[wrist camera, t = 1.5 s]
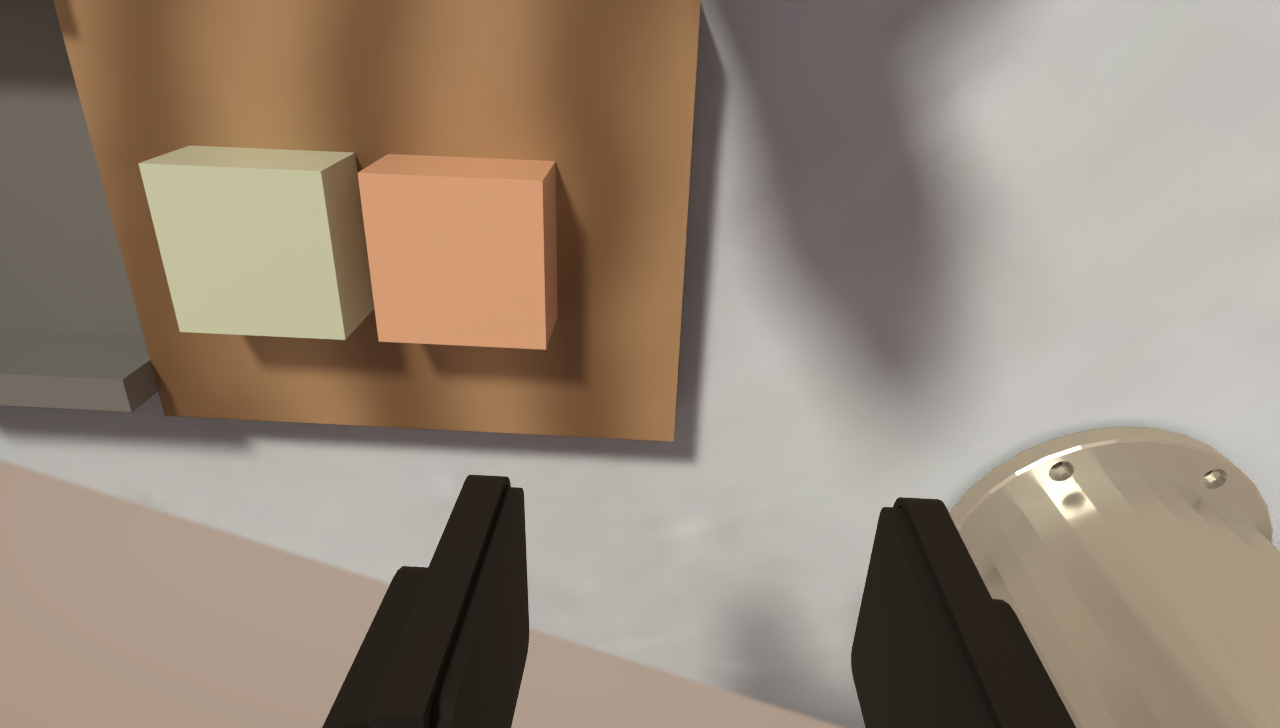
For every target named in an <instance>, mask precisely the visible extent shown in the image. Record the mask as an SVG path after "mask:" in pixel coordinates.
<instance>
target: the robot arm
mask: <svg viewBox="0 0 1280 728" xmlns="http://www.w3.org/2000/svg"><path fill="white" fill-rule="evenodd" d="M1272 535H1273V528H1272V524H1271V520H1270V516H1269V511H1268V507H1267V505H1266V503H1265V501H1264V500H1263V498H1262V496H1261V494H1260V493H1259V491H1258V489H1257V487H1256V486H1255V484H1254V483H1253V482H1252V481H1251V480H1250V479H1249V478H1248V477H1247V476H1246V475H1245V474H1244V473H1243V472H1242V471H1241V470H1239V469H1238V468H1237V467H1236V466H1235V465H1234V464H1233V463H1232V462H1231V461H1229V460H1228V459H1227V458H1225V457H1224V456H1223V455H1221V454H1220V453H1219V452H1217V451H1216V450H1215V449H1214V448H1212V447H1211V446H1208V445H1206V444H1204V443H1202V442H1200V441H1197V440H1195V439H1193V438H1191V437H1188V436H1186V435H1183V434H1179V433H1174V432H1170V431H1165V430H1161V429H1157V428H1145V427H1125V426H1119V427H1110V428H1101V429H1092V430H1085V431H1081V432H1077V433H1074V434H1070V435H1066V436H1062V437H1058V438H1054V439H1052V440H1049V441H1047V442H1044V443H1042V444H1040V445H1037V446H1035V447H1033V448H1030V449H1028V450H1025V451H1023V452H1021V453H1019V454H1018V455H1016V456H1014V457H1013V458H1011V459H1009V460H1008V461H1006V462H1004V463H1003V464H1001V465H1000V466H998V467H996V468H995V469H993V470H992V471H991V472H989V473H988V474H987V475H986V476H985V477H983V478H982V479H981V480H980V481H979V482H978V483H976V484H975V485H974V486H973V487H972V488H970V489H969V490H968V492H967V493H966V494H965V495H964V496H963V497H962V499H961V500H960V501H959V502H958V503H957V504H956V506H955V507H954V508H953V509H952V510H951V512H950V513H949V512H948V510H947V508H946V506H945V505H944V503H943V502H942V501H941V500H938V499H920V498H901V497H900V498H898V499H897V500H896V502H895V503H894V506H893V508H891V507H884V508H882V510H881V512H880V516H879V520H878V525H877V530H876V535H875V540H874V544H873V549H872V554H871V559H870V564H869V569H868V573H867V578H866V583H865V588H864V593H863V598H862V602H861V607H860V612H859V617H858V622H857V627H856V631H855V636H854V641H853V646H852V654H851V665H852V674H853V679H854V683H855V687H856V691H857V695H858V699H859V703H860V707H861V711H862V715H863V719H864V723H865V727H866V728H1280V551H1279V550H1278V549H1277V548H1276V547H1275V546H1274V545H1273V544H1272ZM528 643H529V612H528V587H527V561H526V535H525V510H524V492H523V489H522V488H514V487H511V485H510V480H509V478H508V477H501V476H482V475H469V476H467V478H466V480H465V482H464V485H463V487H462V489H461V492H460V494H459V496H458V499H457V501H456V504H455V506H454V508H453V511H452V513H451V515H450V518H449V520H448V522H447V525H446V527H445V530H444V532H443V534H442V537H441V539H440V541H439V544H438V546H437V548H436V551H435V553H434V556H433V558H432V560H431V563H430V565H429V567H428V568H425V567H407V566H403V567H401V568H400V569H399V570H398V571H397V573H396V574H395V576H394V578H393V579H392V582H391V584H390V586H389V588H388V590H387V592H386V594H385V596H384V598H383V601H382V603H381V605H380V607H379V609H378V611H377V614H376V615H375V618H374V620H373V622H372V624H371V626H370V628H369V631H368V632H367V634H366V637H365V639H364V641H363V643H362V645H361V647H360V649H359V651H358V653H357V656H356V658H355V660H354V662H353V664H352V666H351V668H350V670H349V672H348V675H347V677H346V679H345V681H344V683H343V685H342V687H341V689H340V691H339V693H338V696H337V698H336V700H335V702H334V704H333V706H332V708H331V710H330V713H329V715H328V717H327V719H326V721H325V723H324V725H323V727H322V728H511V725H512V720H513V716H514V711H515V707H516V702H517V698H518V693H519V689H520V684H521V680H522V675H523V671H524V667H525V662H526V656H527V652H528Z"/></svg>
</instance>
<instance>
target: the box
mask: <svg viewBox="0 0 1280 728" xmlns="http://www.w3.org/2000/svg"><path fill="white" fill-rule="evenodd" d="M157 391H158V387H157V383H156V380H155V376H154V372H153V369H152V365H151V361H150V358H149V354H148V350H147V346H146V343H145V339H144V335H143V332H142V328H141V324H140V320H139V317H138V313H137V309H136V306H135V302H134V298H133V294H132V291H131V287H130V283H129V280H128V276H127V272H126V268H125V265H124V261H123V257H122V254H121V250H120V246H119V243H118V239H117V235H116V231H115V228H114V224H113V220H112V217H111V213H110V209H109V205H108V202H107V198H106V194H105V191H104V187H103V183H102V179H101V176H100V172H99V168H98V165H97V161H96V157H95V154H94V150H93V146H92V142H91V139H90V135H89V131H88V128H87V124H86V120H85V116H84V113H83V109H82V105H81V102H80V98H79V94H78V90H77V87H76V83H75V79H74V76H73V72H72V68H71V65H70V61H69V57H68V53H67V50H66V46H65V42H64V39H63V35H62V31H61V27H60V24H59V20H58V16H57V13H56V9H55V5H54V1H53V0H0V405H4V406H23V407H43V408H63V409H82V410H102V411H121V412H132V411H134V410H135V409H136V408H137V407H139V406H140V405H141V404H142V403H144V402H145V401H146V400H147V399H149V398H150V397H151V396H152V395H154V394H155V393H156V392H157Z"/></svg>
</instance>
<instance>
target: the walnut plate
mask: <svg viewBox="0 0 1280 728" xmlns="http://www.w3.org/2000/svg"><path fill="white" fill-rule="evenodd" d="M53 1H54V5H55V9H56V13H57V16H58V20H59V24H60V27H61V31H62V35H63V39H64V42H65V46H66V50H67V53H68V57H69V61H70V65H71V68H72V72H73V76H74V79H75V83H76V87H77V90H78V94H79V98H80V102H81V105H82V109H83V113H84V116H85V120H86V124H87V128H88V131H89V135H90V139H91V142H92V146H93V150H94V154H95V157H96V161H97V165H98V168H99V172H100V176H101V179H102V183H103V187H104V191H105V194H106V198H107V202H108V205H109V209H110V213H111V217H112V220H113V224H114V228H115V231H116V235H117V239H118V243H119V246H120V250H121V254H122V257H123V261H124V265H125V268H126V272H127V276H128V280H129V283H130V287H131V291H132V294H133V298H134V302H135V306H136V309H137V313H138V317H139V320H140V324H141V328H142V332H143V335H144V339H145V343H146V346H147V350H148V354H149V358H150V361H151V365H152V369H153V372H154V376H155V380H156V383H157V387H158V391H159V395H160V398H161V402H162V406H163V409H164V413H165V416H183V417H203V418H223V419H242V420H262V421H281V422H301V423H320V424H340V425H360V426H379V427H399V428H418V429H438V430H457V431H477V432H497V433H516V434H536V435H555V436H575V437H595V438H614V439H634V440H653V441H673V442H674V429H675V413H676V396H677V380H678V364H679V347H680V331H681V315H682V298H683V282H684V266H685V249H686V233H687V216H688V200H689V184H690V167H691V151H692V135H693V118H694V102H695V86H696V69H697V53H698V37H699V20H700V4H701V0H53ZM187 146H213V147H236V148H259V149H283V150H306V151H329V152H353V153H355V158H356V166H357V174H358V172H360V171H361V170H363V169H365V168H366V167H368V166H369V165H371V164H373V163H374V162H376V161H378V160H379V159H381V158H382V157H384V156H386V155H387V154H400V155H423V156H446V157H470V158H493V159H516V160H540V161H555V165H556V235H557V306H558V317H557V320H556V323H555V326H554V329H553V332H552V334H551V337H550V340H549V343H548V346H547V349H546V350H542V349H522V348H501V347H480V346H460V345H439V344H418V343H398V342H379V340H378V332H377V324H376V316H375V308H374V309H373V310H372V311H371V312H370V314H369V315H368V316H367V317H366V318H365V319H364V320H363V321H362V322H361V323H360V324H359V326H358V327H357V328H356V329H355V330H354V331H353V332H352V333H351V334H350V335H349V337H348V338H347V339H346V340H336V339H315V338H295V337H274V336H253V335H233V334H212V333H192V332H180V330H179V326H178V322H177V318H176V314H175V310H174V306H173V302H172V298H171V294H170V290H169V286H168V282H167V277H166V273H165V269H164V265H163V261H162V257H161V253H160V249H159V245H158V241H157V237H156V233H155V229H154V225H153V221H152V217H151V213H150V209H149V205H148V200H147V196H146V192H145V188H144V184H143V180H142V176H141V172H140V168H139V164H138V163H141V162H143V161H146V160H149V159H152V158H155V157H158V156H161V155H164V154H167V153H169V152H172V151H175V150H178V149H181V148H184V147H187ZM358 182H359V181H358ZM359 190H360V189H359ZM365 237H366V236H365ZM366 245H367V244H366ZM367 253H368V252H367ZM368 261H369V260H368ZM369 269H370V268H369ZM370 277H371V276H370ZM371 285H372V284H371ZM372 293H373V292H372ZM373 301H374V300H373Z"/></svg>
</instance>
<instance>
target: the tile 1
mask: <svg viewBox="0 0 1280 728" xmlns="http://www.w3.org/2000/svg"><path fill="white" fill-rule="evenodd" d="M138 164H139V168H140V172H141V176H142V180H143V184H144V188H145V192H146V196H147V200H148V205H149V209H150V213H151V217H152V221H153V225H154V229H155V233H156V237H157V241H158V245H159V249H160V253H161V257H162V261H163V265H164V269H165V273H166V277H167V282H168V286H169V290H170V294H171V298H172V302H173V306H174V310H175V314H176V318H177V322H178V326H179V330H180V332H192V333H212V334H233V335H253V336H274V337H295V338H315V339H336V340H346V339H347V338H348V337H349V335H350V334H351V333H352V332H353V331H354V330H355V329H356V328H357V327H358V326H359V324H360V323H361V322H362V321H363V320H364V319H365V318H366V317H367V316H368V315H369V314H370V312H371V311H372V310H373V309H374V301H373V293H372V285H371V277H370V269H369V261H368V253H367V245H366V237H365V229H364V221H363V213H362V205H361V197H360V190H359V182H358V174H357V166H356V158H355V153H353V152H329V151H306V150H283V149H259V148H236V147H213V146H187V147H184V148H181V149H178V150H175V151H172V152H169V153H167V154H164V155H161V156H158V157H155V158H152V159H149V160H146V161H143V162H141V163H138Z"/></svg>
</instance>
